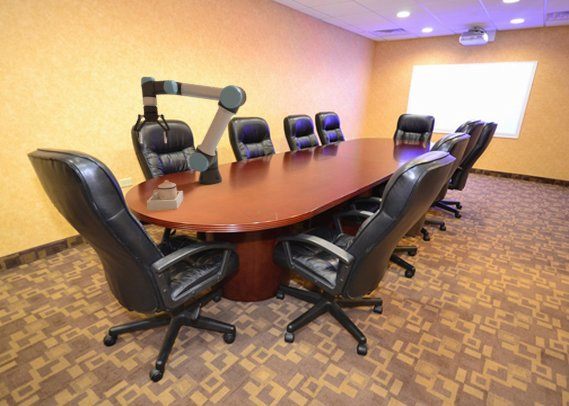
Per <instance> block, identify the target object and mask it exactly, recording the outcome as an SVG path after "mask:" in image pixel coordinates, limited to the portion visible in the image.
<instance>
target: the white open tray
mask: <svg viewBox="0 0 569 406" xmlns="http://www.w3.org/2000/svg"><path fill="white" fill-rule="evenodd" d="M154 195H155V197H160V196H159V191H155V192H154ZM183 200H184V191H183V190H177V197H176V198H175V200H160V199H156V198H154V197H153V195H151V196H150V198H149V199H147V201H146V206H147V211H157V210H158V211H161V210H162V211H163V210H178V209H179V207H180V205H181V204H182V202H183Z"/></svg>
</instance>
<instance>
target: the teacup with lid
mask: <svg viewBox="0 0 569 406" xmlns="http://www.w3.org/2000/svg"><path fill="white" fill-rule="evenodd" d="M177 191H178V189H177V184H176V183H175V182H171V181H169V180H168V179H165V180H164V182H162V183H160V184H159V185H158V186H157V189H154V190H153V191H152V193H151V194H152V195H153V197H154V198H156V199H160V200H175V198H176V197H177ZM155 192H159V196H160V197H155V195H154V193H155ZM152 195H151V196H152Z"/></svg>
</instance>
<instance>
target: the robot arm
mask: <svg viewBox="0 0 569 406" xmlns="http://www.w3.org/2000/svg"><path fill="white" fill-rule="evenodd" d="M140 86H141V95H142V105H143V107H142V108H143V114H140V113H138V114H137V120H136V121H135V125H134V126H133V129H132V130H133V131H134V132H136V133H137V134H136V135H137V138H139V144H144V143H143V134H142V133H143V132H141V131H142V130H143V128H144V127H145V126H146V124H148V123H153V124H155V123H157V125H159V127H161V128H162V129H163V139H164V141H163V142H164V144H167V143H168V142H167V141H168V140H167V138H169V132H170V131H172V128H171V127H170V126H169V124H168V122H167V120H166V119H165V115H164V114H162V113H161V114H159V111H158V109H159V108H158V99H157V96H159V95H161V96H162V95H163V96H164V95H167V96H168V95H169V96H171V95H172V96H173V95H174V96H180V97H190V98H196V99H203V100H209V101H211V100H212V101H218V102H217V107H218V108H217V110H216V113H215V115H214V116H213V119H212V120H211V123H210V125H209V127H208V129H207V131H206V133H205V135H204V138H203V140H202V142H201V143H200V144H197V146H196V148H195V150H194V151H193V153H191V154H190V156H189V158H188V164H189V166H190V167H191V169H192V170H194V171H196V172H199V175H198V183H200V184H202V185H214V184H219V183H221V182H223V178H222V175H221V172H220V170H219V156H218V145H219V142H220V141H221V140H222V139H221V138H222V137H223V135H224V133H225V131H226V129H227V127H228V125H229V122H230V121H231V119H232V117H233V116H235V115H237V113H238V111H239V109H240V108H241V107H242V106H244V105H245V104H246V102H247V98H248V97H247V93H246V91H245V90H244V88H243V87H241V86H238V85H237V86H236V85H233V84H231V85H227V86H225V87H216V86H209V85H202V84H196V83H194V84H193V83H186V82H179V81H175V80H172V79H171V80H170V79H166V80H156V79H155V78H154V77H152V76H142V77H141V79H140ZM143 118H144V120H143V122H142V119H143ZM159 118H160V119H161V120H162V122H163V123H164V125H165V126H164V125H163V123H161V122H160V120H159ZM141 122H142V123H141ZM140 123H141V124H140Z"/></svg>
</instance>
